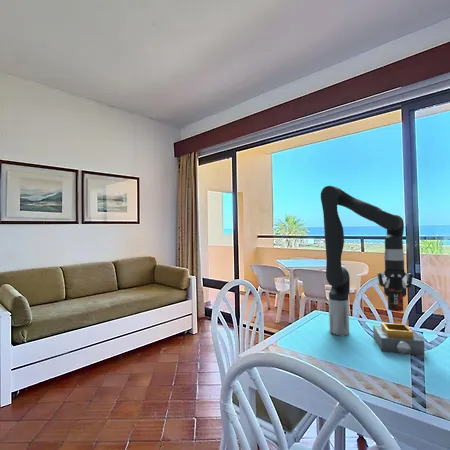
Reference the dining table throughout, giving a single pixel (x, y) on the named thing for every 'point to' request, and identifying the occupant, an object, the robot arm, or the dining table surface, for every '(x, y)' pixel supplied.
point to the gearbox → (398, 339)
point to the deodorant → (395, 294)
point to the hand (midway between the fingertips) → (395, 296)
